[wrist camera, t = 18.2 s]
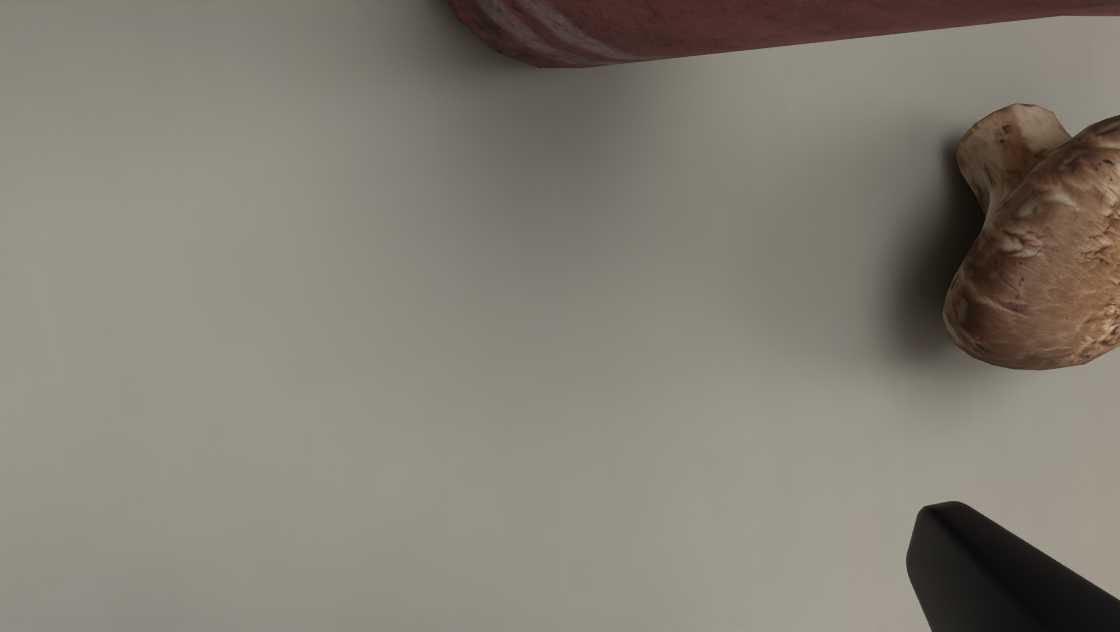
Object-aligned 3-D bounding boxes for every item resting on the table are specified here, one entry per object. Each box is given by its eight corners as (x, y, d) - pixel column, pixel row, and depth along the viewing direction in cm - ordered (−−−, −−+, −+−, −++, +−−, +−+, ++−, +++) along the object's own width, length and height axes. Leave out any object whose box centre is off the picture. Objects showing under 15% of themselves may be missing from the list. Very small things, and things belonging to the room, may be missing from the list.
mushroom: (1035, -9, 21) (1299, 152, 18) (1105, 58, 27) (1311, 187, 24) (816, 264, 25) (1008, 436, 22) (922, 269, 31) (1082, 404, 28)
